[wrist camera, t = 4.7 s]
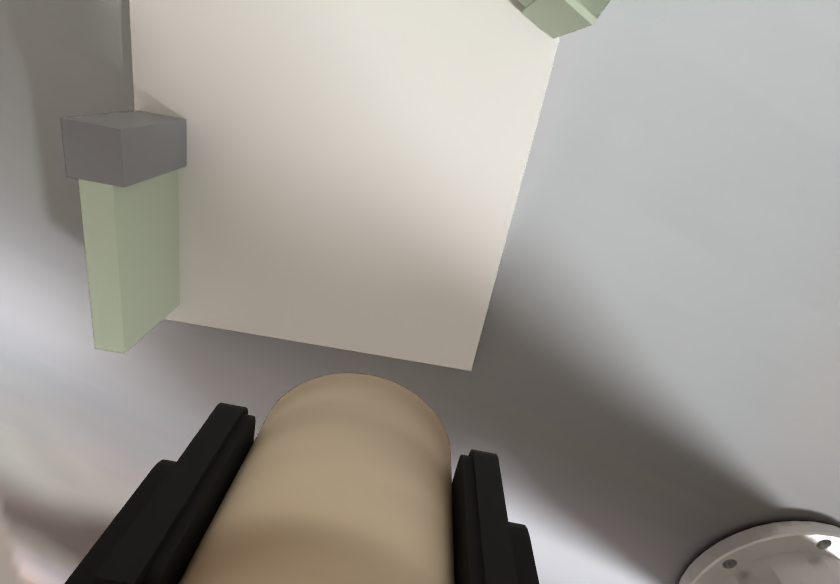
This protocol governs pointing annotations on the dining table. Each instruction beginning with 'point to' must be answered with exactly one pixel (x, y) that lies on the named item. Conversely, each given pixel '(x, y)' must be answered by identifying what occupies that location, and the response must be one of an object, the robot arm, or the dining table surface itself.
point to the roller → (337, 493)
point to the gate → (563, 14)
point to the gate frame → (311, 171)
